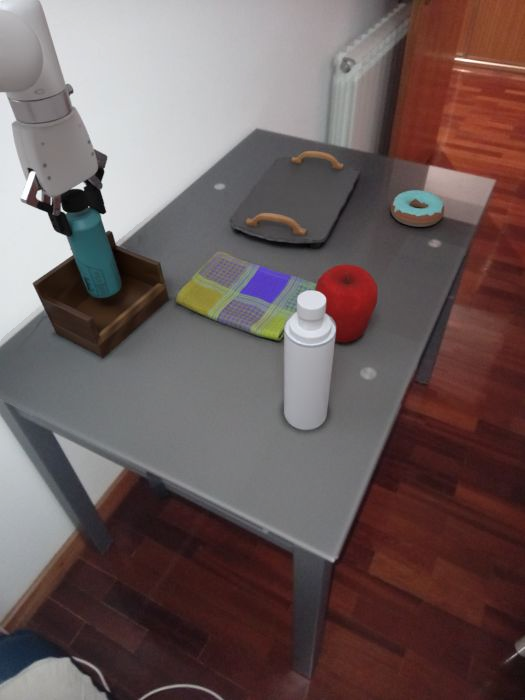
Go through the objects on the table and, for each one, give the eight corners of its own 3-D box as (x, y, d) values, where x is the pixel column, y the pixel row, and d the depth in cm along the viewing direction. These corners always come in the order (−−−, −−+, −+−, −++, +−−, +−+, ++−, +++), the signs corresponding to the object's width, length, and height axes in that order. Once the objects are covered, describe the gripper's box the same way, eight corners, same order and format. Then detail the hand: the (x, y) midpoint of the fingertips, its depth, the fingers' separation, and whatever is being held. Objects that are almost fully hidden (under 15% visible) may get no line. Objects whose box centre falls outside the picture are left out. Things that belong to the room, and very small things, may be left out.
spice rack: (103, 358, 86) (82, 307, 77) (56, 333, 91) (31, 283, 82) (168, 299, 96) (157, 248, 87) (123, 280, 101) (108, 230, 92)
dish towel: (276, 350, 86) (275, 338, 84) (169, 303, 96) (167, 292, 93) (322, 293, 96) (323, 282, 94) (222, 256, 105) (220, 245, 103)
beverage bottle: (132, 287, 90) (103, 186, 76) (110, 309, 86) (74, 208, 72) (103, 278, 92) (70, 179, 78) (80, 300, 88) (40, 199, 74)
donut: (447, 209, 115) (452, 193, 112) (434, 235, 108) (439, 219, 105) (398, 198, 119) (400, 183, 116) (382, 223, 112) (385, 207, 109)
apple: (369, 356, 84) (381, 295, 75) (310, 350, 86) (314, 290, 76) (370, 314, 92) (381, 254, 82) (315, 310, 93) (319, 250, 83)
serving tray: (280, 162, 134) (280, 139, 129) (364, 174, 128) (367, 151, 123) (221, 239, 110) (219, 215, 105) (321, 260, 103) (323, 235, 99)
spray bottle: (322, 393, 79) (333, 269, 61) (330, 427, 75) (346, 304, 56) (281, 398, 79) (280, 274, 61) (287, 433, 74) (289, 311, 56)
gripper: (71, 80, 72) (103, 192, 85) (-33, 123, 62) (22, 243, 75) (108, 88, 69) (136, 203, 82) (6, 135, 59) (56, 257, 72)
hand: (81, 221), depth 78 cm, fingers closed on beverage bottle, 6 cm apart
